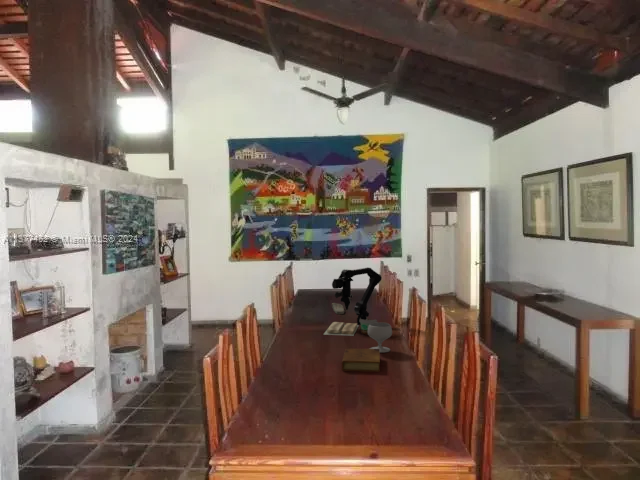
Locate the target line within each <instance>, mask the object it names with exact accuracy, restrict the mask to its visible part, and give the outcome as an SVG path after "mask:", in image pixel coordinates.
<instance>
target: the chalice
mask: <svg viewBox="0 0 640 480" xmlns="http://www.w3.org/2000/svg"><path fill="white" fill-rule="evenodd" d="M392 335H393V329H392V326H391V324H390V323H388V322H383V321H382V322H381V321H380V322H378V321H377V322H376V323H371V324H370V325H369V327H368V337H370V338H371V339H373V340H374V341H376V342H377V346H372V347H370V348H369V349H380V353H389V352H391V349H390V347H387V346H382V344H383V342H384V341H386V340H387V339H389V338H391V336H392Z"/></svg>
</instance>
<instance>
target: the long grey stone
mask: <svg viewBox="0 0 640 480" xmlns="http://www.w3.org/2000/svg"><path fill="white" fill-rule="evenodd" d="M331 308H332V310H333V312H334V313H335V314H336V315H340V314H341V315H344V314H345V311H346V309H345V305H343V304H341V303H336V302H332V303H331Z"/></svg>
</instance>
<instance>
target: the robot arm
mask: <svg viewBox="0 0 640 480" xmlns="http://www.w3.org/2000/svg"><path fill="white" fill-rule="evenodd" d="M365 274H366V275H367V276H368V277H369V278H368V283H369V284H368V285H367V287H366V289H365V291H364V293H363V296H362V298H361V299H360V301H359V302H358V301H357V302H355V306H353V307H354V308H353V309H354V313H355V314H356V316H357V318H356V323H357V325H359V326H361V323H360V322H359V320H360V318H361V319H368V318H369V316H370V313H369V312H368V311H367V309H368V305H367V304H368V302H369V300H370V298H371V296H372V295H373V293H374V290H375V288H376V287H377V286H378V285H379V283H380V282H381V281H382V279H383V278H382V275H381V274H379V273H378V272H376V271H375V270H373V269H372V267H363V268H357V269H342V270H341V271H340V275H339V276H338V278H333V281H332V283H331V286H332V289H334V290H335V289H341V290H339V291H336V292H335V293H334V297H335V299H338V298H340V297H341V298H340V302H341V303H342V302H343V303H344V308H345V311H346V310H347V311H348V310H349V307H350V305H351V302H352V299H353V294H352V287H351V286H352V285H351V282H354V278H353V277H355V276H360V275H365Z"/></svg>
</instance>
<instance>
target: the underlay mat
mask: <svg viewBox="0 0 640 480" xmlns="http://www.w3.org/2000/svg"><path fill="white" fill-rule="evenodd" d="M345 325H346V324H344V326H345ZM359 326H360V325H358V324H357V327H356V329H355V331H354V333H353V334H341V331H342V330H341V331H340V333H327V329H326V330H325V332H324V333H323V335H324V336H325V335H326V336H327V335H328V336H331V335H332V336H351V337H352V336H353V337H354V335H355V333H356V332H357V330H358V328H359ZM329 327H330V325H329ZM329 327H328V328H329ZM343 328H344V327H343ZM343 328H342V329H343Z"/></svg>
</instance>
